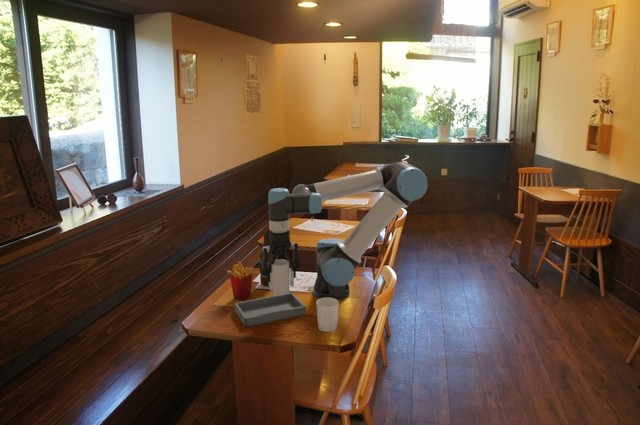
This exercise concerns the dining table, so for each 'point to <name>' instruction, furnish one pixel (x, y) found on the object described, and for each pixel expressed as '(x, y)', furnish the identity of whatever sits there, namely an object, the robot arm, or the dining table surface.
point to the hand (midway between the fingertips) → (281, 287)
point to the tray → (269, 309)
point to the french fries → (241, 282)
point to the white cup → (327, 314)
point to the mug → (280, 277)
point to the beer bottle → (266, 243)
